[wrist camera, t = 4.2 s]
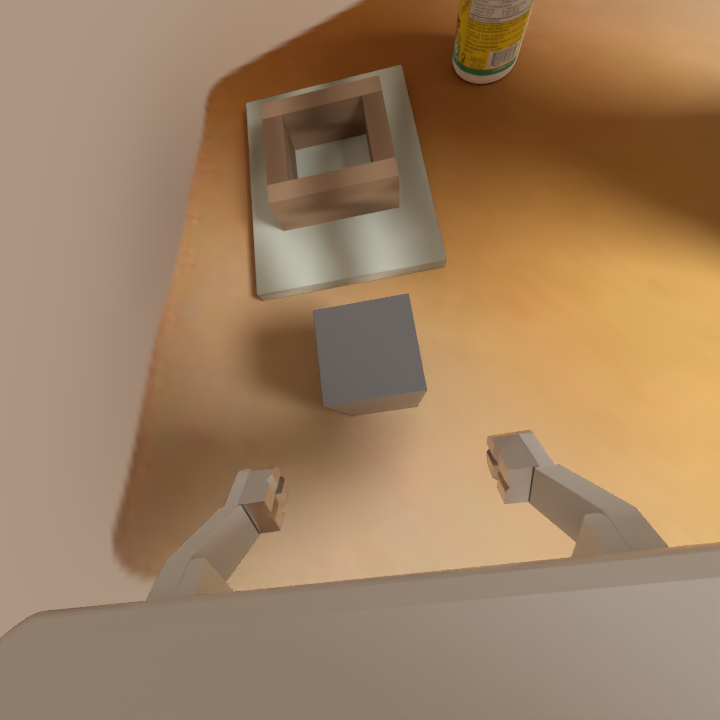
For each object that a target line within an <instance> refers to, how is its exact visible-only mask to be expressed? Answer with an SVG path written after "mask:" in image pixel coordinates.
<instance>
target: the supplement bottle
mask: <svg viewBox="0 0 720 720" xmlns="http://www.w3.org/2000/svg"><path fill="white" fill-rule="evenodd" d="M534 2H535V0H460V5H459V12H458V19H457V27H456V34H455V41H454V49H453V58H452V61H453V66H454V69H455V71H456V73H457V74H458V75H459V76H460V77H461V78H462V79H463V80H465V81H468V82H471V83H475V84H487V83H491V82H494V81H497V80H499V79H501V78H502V77H504V76H505V75H507V74H508V73H509V72H510V71H511V69H512V68H513V66H514V65H515V63H516V60H517V57H518V54H519V51H520V48H521V44H522V41H523V38H524V34H525V31H526V28H527V25H528V22H529V18H530V15H531V12H532V8H533V5H534Z"/></svg>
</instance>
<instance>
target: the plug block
mask: <svg viewBox="0 0 720 720" xmlns="http://www.w3.org/2000/svg"><path fill="white" fill-rule="evenodd" d="M313 313H314V322H315V332H316V341H317V351H318V360H319V370H320V380H321V389H322V399H323V406H325V407H328V408H330V409H333V410H336V411H338V412H341V413H344V414H346V415H349V416H357V415H364V414H371V413H378V412H384V411H391V410H398V409H405V408H412V407H417V406H418V405H419V403H420V401H421V399H422V398H423V396H424V394H425V393H426V391H427V388H426V382H425V377H424V372H423V367H422V361H421V356H420V351H419V346H418V340H417V335H416V330H415V325H414V319H413V314H412V309H411V304H410V298H409V293H408V294H403V295H397V296H392V297H386V298H381V299H375V300H369V301H364V302H358V303H353V304H347V305H342V306H336V307H331V308H325V309H319V310H314V311H313Z"/></svg>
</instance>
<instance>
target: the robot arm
mask: <svg viewBox="0 0 720 720" xmlns="http://www.w3.org/2000/svg"><path fill="white" fill-rule="evenodd" d="M487 445H488V447H489V450H488V451H487V463H488V467H489V470H490V473H491V475H492V477H493V478H494V479H496V480H497V489H498V491H499V493H500V495H501V497H502V500H503V502H504V504H509V503H520V502H529V503H530V504H531V505H532V506H534V507H535V508H536V509H537V510H538V511H539V512H541V513H542V514H543V515H544V516H545V517H547V518H548V519H549V520H550V521H551V522H553V523H554V524H555V525H556V526H557V527H559V528H560V529H561V530H562V531H563V532H565V533H566V534H567V535H568V536H569V537H571V538H572V539H573V540H574V541H575V542H576V545H575V548H574V551H573V554H572V557H569V558H560V559H550V560H540V561H530V562H520V563H511V564H501V565H491V566H481V567H472V568H462V569H452V570H442V571H432V572H423V573H413V574H403V575H393V576H384V577H374V578H364V579H355V580H345V581H335V582H326V583H316V584H306V585H296V586H286V587H277V588H267V589H257V590H247V591H238V592H234V591H233V590H232V589H231V587H230V586H229V585H228V584H227V583H226V581H227V580H228V578H229V577H230V575H231V574H232V573H233V571H234V570H235V569H236V567H237V566H238V564H239V563H240V562H241V560H242V559H243V557H244V556H245V555H246V553H247V552H248V550H249V549H250V548H251V546H252V545H253V543H254V542H255V541H256V539H257V538H258V536H259V534H261V533H267V532H274V531H281V527H282V522H283V517H284V512H283V510H282V508H283V507H284V506H285V504H286V503H287V498H288V487H287V483H286V480H285V479H284V478H283V477H281V476H280V475H281V470H280V468H279V466H268V467H259V468H252V469H243V470H240V471H239V472H238V473H237V476H236V478H235V481H234V483H233V485H232V488H231V490H230V493H229V495H228V498H227V500H226V503H225V505H224V507H221V508H219V509H218V510H217V511H216V512H215V513H214V514H213V515H212V516H211V517H210V518H209V519H208V520H207V521H206V522H205V523H204V524H203V525H202V526H201V527H200V528H199V529H198V530H197V531H196V532H195V533H194V534H193V535H192V536H191V537H190V538H189V539H187V540H186V541H185V542H184V543H183V544H182V545H181V546H180V547H179V548H178V549H177V550H176V551H175V552H174V553H173V554H172V555H171V556H170V557H169V558H168V559H167V560H166V561H165V563H164V565H163V567H162V569H161V571H160V573H159V575H158V577H157V579H156V581H155V583H154V585H153V587H152V589H151V591H150V593H149V596H148V597H147V600H146V601H139V602H129V603H119V604H109V605H100V606H91V607H80V608H70V609H60V610H49V611H42V612H38V613H36V614H33V615H31V616H30V617H28V618H26V619H25V620H23V621H22V622H21V623H19V624H18V625H17V626H15V627H14V628H12V629H11V630H10V631H8V632H7V633H6V634H5V635H3V636H2V637H1V638H0V720H720V542H716V543H706V544H696V545H686V546H677V547H668V546H667V544H666V543H665V542H664V541H663V540H662V538H661V537H660V536H659V535H658V534H657V532H656V531H655V530H654V529H653V528H652V526H651V525H650V524H649V523H648V522H647V520H646V519H645V518H644V517H643V516H642V514H641V513H640V512H639V511H638V510H637V508H636V507H634V506H632V505H630V504H629V503H627V502H625V501H623V500H621V499H620V498H618V497H616V496H614V495H613V494H611V493H609V492H607V491H606V490H604V489H602V488H600V487H599V486H597V485H595V484H593V483H592V482H590V481H588V480H586V479H585V478H583V477H581V476H579V475H578V474H576V473H574V472H572V471H571V470H569V469H567V468H565V467H564V466H562V465H560V464H557V465H555V464H554V462H553V461H552V459H551V458H550V456H549V455H548V454H547V452H546V451H545V449H544V448H543V446H542V445H541V443H540V442H539V441H538V439H537V438H536V436H535V435H534V433H533V432H532V431H530V430H526V431H519V432H512V433H505V434H498V435H492V436H488V437H487Z"/></svg>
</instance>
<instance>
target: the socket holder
mask: <svg viewBox="0 0 720 720" xmlns="http://www.w3.org/2000/svg"><path fill="white" fill-rule="evenodd" d="M246 108H247V126H248V144H249V161H250V179H251V197H252V215H253V232H254V250H255V268H256V285H257V296H258V297H259V298H260V299H261V300H263V301H264V300H270V299H275V298H280V297H286V296H291V295H297V294H302V293H307V292H313V291H318V290H323V289H329V288H334V287H340V286H345V285H350V284H356V283H361V282H366V281H372V280H377V279H383V278H388V277H393V276H399V275H404V274H410V273H415V272H420V271H426V270H431V269H436V268H442V267H445V263H446V255H445V251H444V247H443V242H442V238H441V234H440V229H439V225H438V221H437V216H436V212H435V208H434V203H433V199H432V195H431V190H430V186H429V182H428V177H427V173H426V169H425V164H424V160H423V155H422V151H421V147H420V142H419V138H418V134H417V129H416V125H415V121H414V116H413V112H412V108H411V103H410V99H409V95H408V90H407V86H406V82H405V77H404V73H403V69H402V64H401V65H397V66H393V67H389V68H385V69H381V70H377V71H373V72H369V73H365V74H361V75H357V76H353V77H349V78H345V79H341V80H337V81H332V82H328V83H324V84H320V85H316V86H312V87H308V88H304V89H300V90H296V91H292V92H288V93H284V94H280V95H276V96H272V97H268V98H264V99H260V100H256V101H252V102H248V103H246Z"/></svg>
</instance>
